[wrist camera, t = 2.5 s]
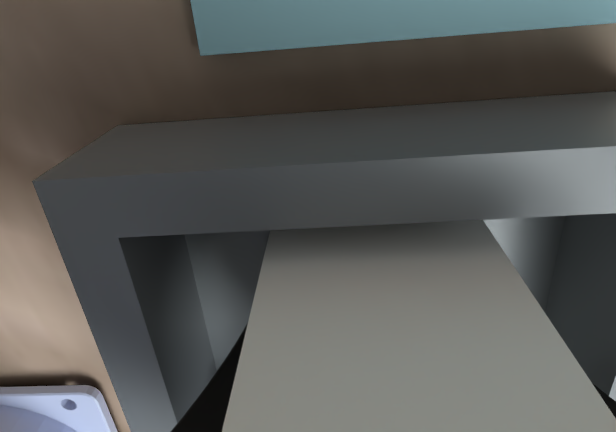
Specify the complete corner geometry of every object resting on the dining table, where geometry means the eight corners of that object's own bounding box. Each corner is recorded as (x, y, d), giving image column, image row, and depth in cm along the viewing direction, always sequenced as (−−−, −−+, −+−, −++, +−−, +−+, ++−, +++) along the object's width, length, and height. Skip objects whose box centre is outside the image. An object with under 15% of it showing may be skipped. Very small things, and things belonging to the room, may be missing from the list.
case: (197, 407, 15) (164, 514, 12) (118, 125, 11) (32, 181, 8) (555, 400, 14) (618, 513, 11) (634, 89, 10) (776, 136, 7)
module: (298, 374, 14) (274, 697, 7) (277, 199, 11) (209, 478, 5) (446, 370, 13) (550, 705, 7) (462, 189, 11) (653, 475, 4)
